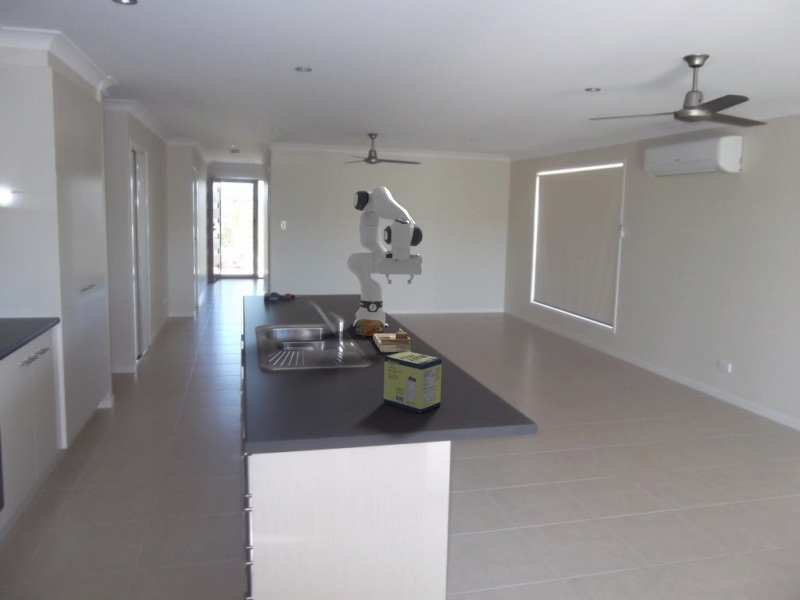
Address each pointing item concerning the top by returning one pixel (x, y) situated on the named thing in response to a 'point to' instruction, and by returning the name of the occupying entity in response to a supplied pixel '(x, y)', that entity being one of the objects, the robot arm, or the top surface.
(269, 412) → the top surface
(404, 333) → the walnut block
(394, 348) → the board
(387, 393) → the protein box
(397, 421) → the top surface
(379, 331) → the tin
